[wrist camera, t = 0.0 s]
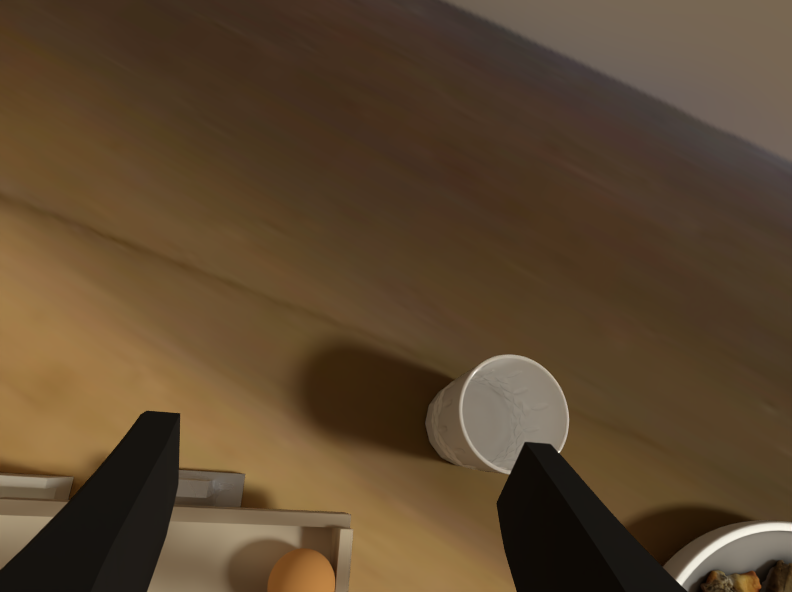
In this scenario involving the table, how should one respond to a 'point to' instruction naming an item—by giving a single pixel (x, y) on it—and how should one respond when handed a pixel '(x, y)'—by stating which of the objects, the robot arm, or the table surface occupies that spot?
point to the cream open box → (35, 486)
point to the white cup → (497, 414)
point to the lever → (209, 543)
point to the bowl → (737, 559)
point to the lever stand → (209, 489)
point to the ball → (302, 573)
